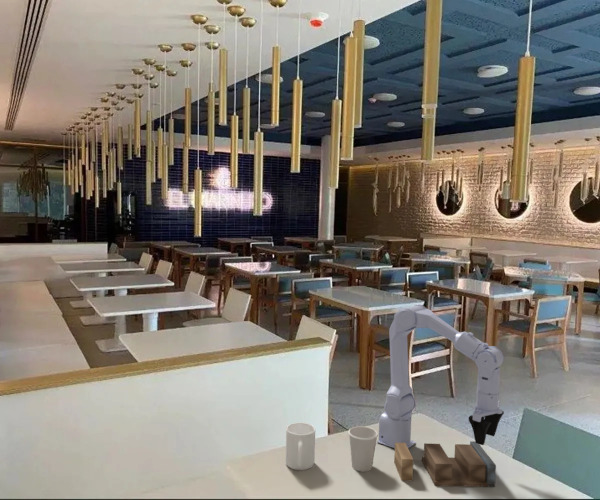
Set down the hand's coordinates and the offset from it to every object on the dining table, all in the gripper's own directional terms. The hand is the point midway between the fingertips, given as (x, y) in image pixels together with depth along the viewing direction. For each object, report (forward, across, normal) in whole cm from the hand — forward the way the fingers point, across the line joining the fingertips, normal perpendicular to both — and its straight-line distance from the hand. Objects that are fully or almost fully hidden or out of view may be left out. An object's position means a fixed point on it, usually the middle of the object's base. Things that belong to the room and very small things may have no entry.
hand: (485, 439), depth 139 cm
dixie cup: (+10, -20, +27) cm, 35 cm away
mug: (+10, -33, +39) cm, 52 cm away
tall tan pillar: (+10, -14, +17) cm, 25 cm away
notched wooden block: (+10, -5, +6) cm, 13 cm away
